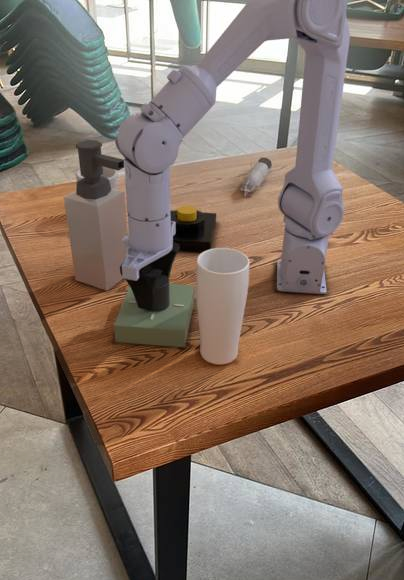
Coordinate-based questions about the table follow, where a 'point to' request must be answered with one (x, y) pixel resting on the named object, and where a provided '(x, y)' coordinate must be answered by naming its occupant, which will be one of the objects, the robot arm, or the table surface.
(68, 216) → the soap dispenser
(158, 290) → the dial
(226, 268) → the drinking glass
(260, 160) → the clear plastic bottle
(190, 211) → the button
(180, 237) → the button block
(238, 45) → the robot arm
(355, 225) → the table surface
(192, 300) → the dial panel
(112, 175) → the cup
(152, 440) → the table surface
